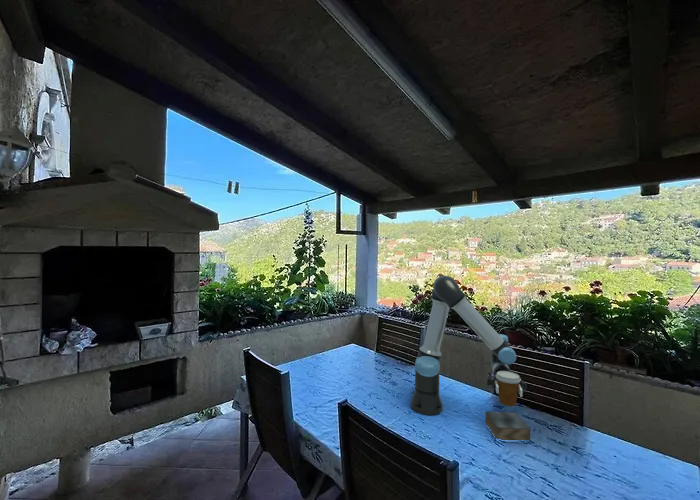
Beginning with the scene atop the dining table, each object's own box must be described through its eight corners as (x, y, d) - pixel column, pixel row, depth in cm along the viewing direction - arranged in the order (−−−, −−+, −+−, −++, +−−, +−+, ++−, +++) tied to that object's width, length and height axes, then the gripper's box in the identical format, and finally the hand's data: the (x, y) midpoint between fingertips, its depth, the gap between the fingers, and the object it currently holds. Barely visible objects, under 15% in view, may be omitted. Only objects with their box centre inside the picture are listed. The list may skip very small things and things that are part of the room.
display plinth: (497, 441, 132) (497, 426, 132) (485, 424, 145) (485, 411, 145) (530, 443, 131) (530, 428, 131) (515, 426, 144) (515, 412, 144)
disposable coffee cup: (506, 409, 132) (506, 379, 132) (490, 399, 141) (490, 371, 141) (525, 407, 135) (526, 377, 135) (508, 397, 144) (509, 369, 144)
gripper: (526, 383, 152) (538, 405, 130) (478, 377, 158) (481, 396, 137) (526, 367, 152) (538, 386, 130) (478, 362, 158) (482, 378, 137)
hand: (509, 391), depth 134 cm, fingers closed on disposable coffee cup, 8 cm apart
